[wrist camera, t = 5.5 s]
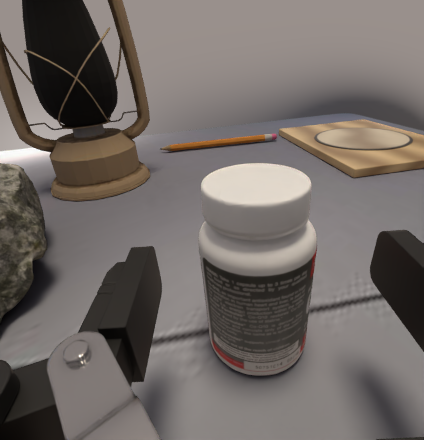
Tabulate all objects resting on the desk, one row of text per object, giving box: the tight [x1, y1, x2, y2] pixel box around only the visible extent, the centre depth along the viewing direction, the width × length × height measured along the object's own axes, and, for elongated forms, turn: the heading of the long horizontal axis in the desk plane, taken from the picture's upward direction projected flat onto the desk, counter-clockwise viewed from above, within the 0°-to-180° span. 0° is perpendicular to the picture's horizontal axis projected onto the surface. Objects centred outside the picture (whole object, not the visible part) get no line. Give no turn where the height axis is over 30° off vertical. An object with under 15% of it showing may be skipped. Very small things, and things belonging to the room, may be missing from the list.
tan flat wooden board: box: [279, 120, 424, 178], centre depth 41 cm, size 16×22×1 cm
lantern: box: [0, 0, 150, 201], centre depth 29 cm, size 14×12×30 cm
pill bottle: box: [198, 163, 317, 375], centre depth 12 cm, size 5×5×8 cm
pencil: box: [161, 134, 277, 151], centre depth 46 cm, size 1×1×19 cm
